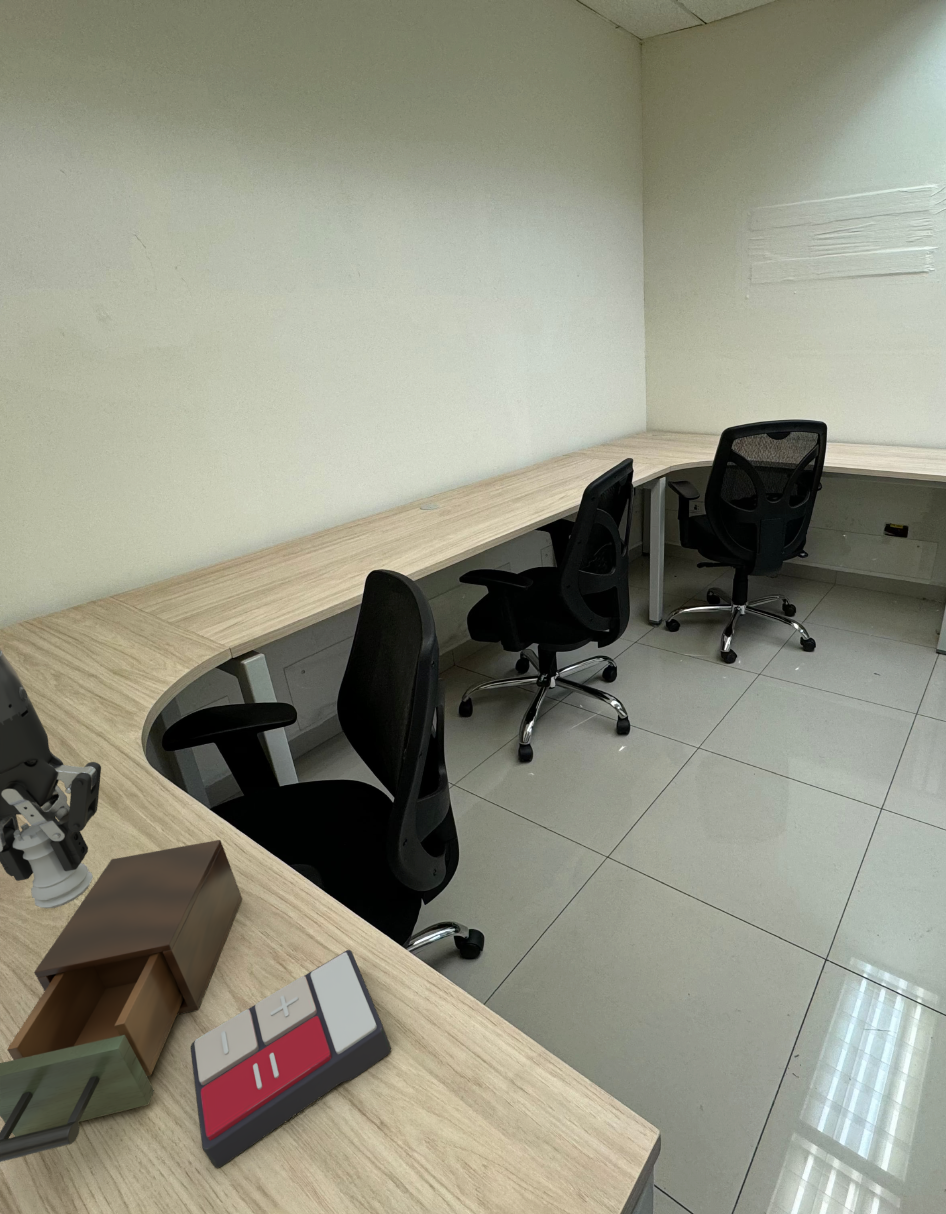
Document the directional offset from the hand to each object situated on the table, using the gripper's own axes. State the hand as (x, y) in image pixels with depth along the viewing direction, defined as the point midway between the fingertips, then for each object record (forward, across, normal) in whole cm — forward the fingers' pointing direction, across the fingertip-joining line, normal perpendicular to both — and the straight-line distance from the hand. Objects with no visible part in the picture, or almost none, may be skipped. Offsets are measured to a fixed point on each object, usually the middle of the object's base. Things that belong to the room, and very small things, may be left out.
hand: (52, 868), depth 59 cm
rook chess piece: (+3, 0, 0) cm, 3 cm away
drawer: (+18, +3, -8) cm, 20 cm away
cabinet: (+19, +3, +4) cm, 19 cm away
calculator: (+19, +19, -12) cm, 29 cm away
